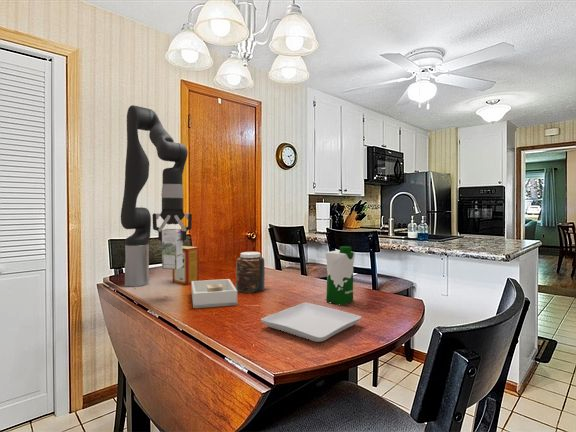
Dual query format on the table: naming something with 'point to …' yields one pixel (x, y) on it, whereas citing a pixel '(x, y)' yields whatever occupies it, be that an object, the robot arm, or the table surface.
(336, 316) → the salad plate
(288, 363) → the table surface
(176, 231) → the syrup box
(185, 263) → the baking soda box
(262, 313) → the table surface
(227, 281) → the tote
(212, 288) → the birch cube
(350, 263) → the milk carton
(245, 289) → the jar
